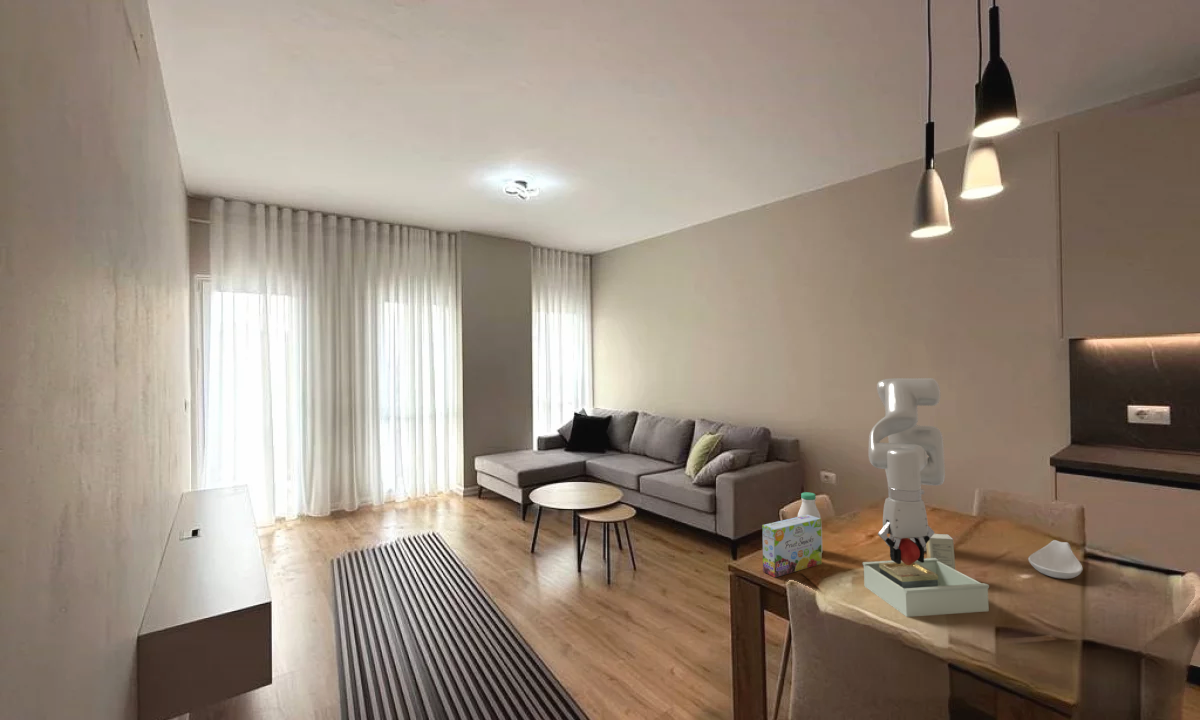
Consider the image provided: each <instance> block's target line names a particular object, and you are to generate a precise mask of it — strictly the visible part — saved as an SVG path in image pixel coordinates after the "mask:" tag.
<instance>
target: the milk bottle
mask: <svg viewBox="0 0 1200 720" xmlns="http://www.w3.org/2000/svg"><path fill="white" fill-rule="evenodd" d="M800 494H801V505H800V508H799V510H798V513H797V517H800V516H804V515H811V516H814V517H817V518H821V519H822V516H821V513H820V512H819V509H818V507H817V505H816V500H817V499H816V497H817V496H816V494H815V493H814V492H807V491H804V492H802V493H800ZM822 525H823V523H821V552H822V553H824V552H823V551H824V549H823V547H824V546H823V530H822V529H823V528H822Z"/></svg>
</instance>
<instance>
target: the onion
mask: <svg viewBox="0 0 1200 720" xmlns="http://www.w3.org/2000/svg"><path fill="white" fill-rule="evenodd" d="M898 548H899V549H900V550H901V561H902V562H904V563H905V564H906V565H911V564H912V563H914V562H915V561H917V560H918V558H919V557H920V550H919V548H918V546H917V545H916V544H915V543H914V542H913V541H912V540H910V539H909V538H902V539H901V540H900V544H899V547H898Z"/></svg>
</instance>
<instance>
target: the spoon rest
mask: <svg viewBox="0 0 1200 720" xmlns="http://www.w3.org/2000/svg"><path fill="white" fill-rule="evenodd" d="M1027 559H1028V562H1029V564H1030V565H1031V566H1032V567H1033V568H1034V569H1035V570H1036V571H1037V572H1039V573H1040V574H1042V575H1045V576H1048V577H1051V578H1055V579H1059V580H1060V579H1062V580H1068V579H1073V578H1076V577H1078V576H1079V575H1081V573H1082V572H1083V565H1082V563H1081V562H1080V560H1079V559H1078V557H1076V555H1075V553H1074V552H1073V550H1072V547H1071V545H1070V543H1069V542H1067V541H1066V542H1065V541H1064V542H1063V541H1059V540H1056V539H1053V540H1052V541H1050V542H1049V543H1048V544H1046V545H1044V546H1043V547H1042V548H1039V549H1037V550H1036V551H1034V552H1033V553H1031V554H1030V555H1029V556H1028V558H1027Z"/></svg>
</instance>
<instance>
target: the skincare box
mask: <svg viewBox="0 0 1200 720" xmlns="http://www.w3.org/2000/svg"><path fill="white" fill-rule="evenodd" d="M926 549H927V551H926V558H936V559H938V561H939V562H941V563H943V564H945V565H947V566H949V567H951V568H953V569H955V570H956V561H955V545H954V538H952V536H950V535H949V534H945V533H943V534H942V533H934V534H933V536H932V537H931V538H930V540H929V541H928V542H927V543H926Z"/></svg>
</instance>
